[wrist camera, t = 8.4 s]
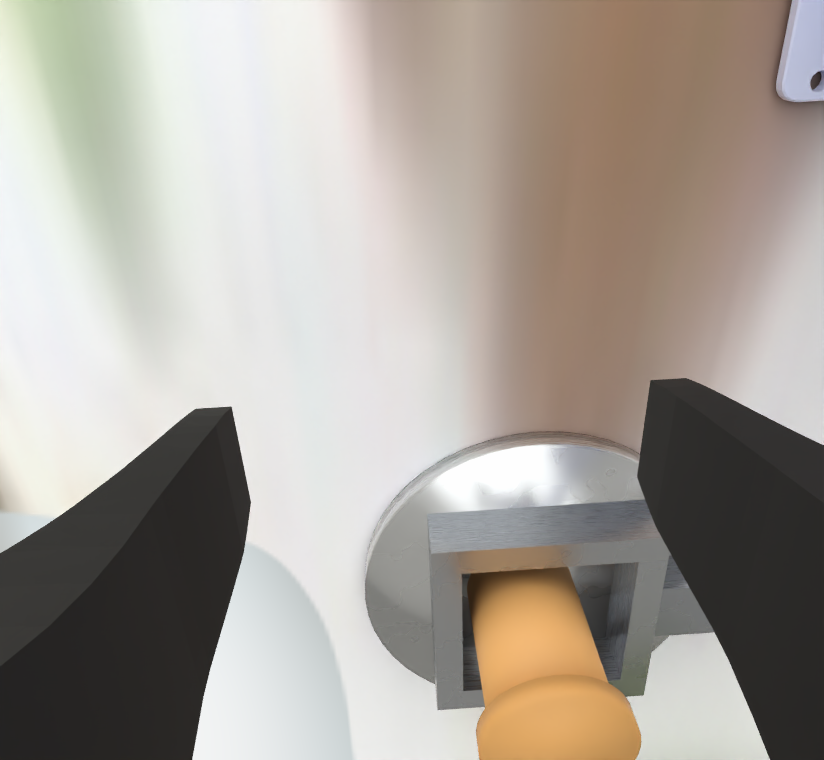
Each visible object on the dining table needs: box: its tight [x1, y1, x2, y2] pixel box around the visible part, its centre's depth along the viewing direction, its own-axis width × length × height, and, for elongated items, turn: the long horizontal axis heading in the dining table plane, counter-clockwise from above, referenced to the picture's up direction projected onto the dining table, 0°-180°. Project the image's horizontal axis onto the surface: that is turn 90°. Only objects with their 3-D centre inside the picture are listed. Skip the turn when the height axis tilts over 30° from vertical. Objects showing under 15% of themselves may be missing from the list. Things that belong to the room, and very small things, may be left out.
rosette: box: [365, 432, 714, 710], centre depth 25 cm, size 20×13×3 cm, turn 93°
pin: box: [467, 567, 641, 760], centre depth 23 cm, size 5×5×7 cm
